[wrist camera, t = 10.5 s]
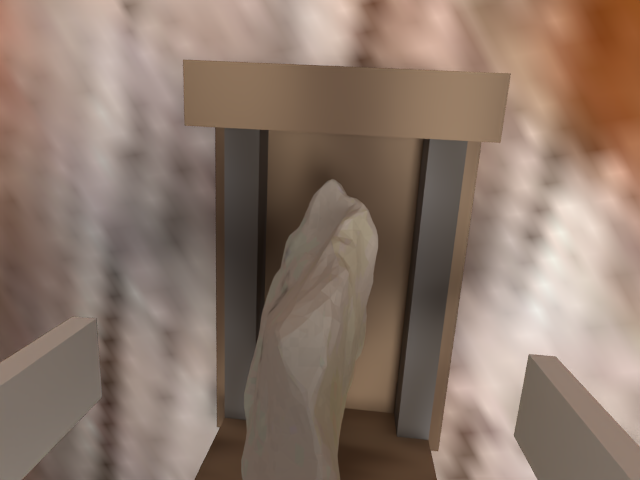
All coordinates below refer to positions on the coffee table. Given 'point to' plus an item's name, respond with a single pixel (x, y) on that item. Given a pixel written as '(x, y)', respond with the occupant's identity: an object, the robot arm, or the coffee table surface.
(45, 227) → the coffee table surface
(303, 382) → the stone tool
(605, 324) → the coffee table surface
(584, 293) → the coffee table surface
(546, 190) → the coffee table surface
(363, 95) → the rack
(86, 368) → the robot arm
